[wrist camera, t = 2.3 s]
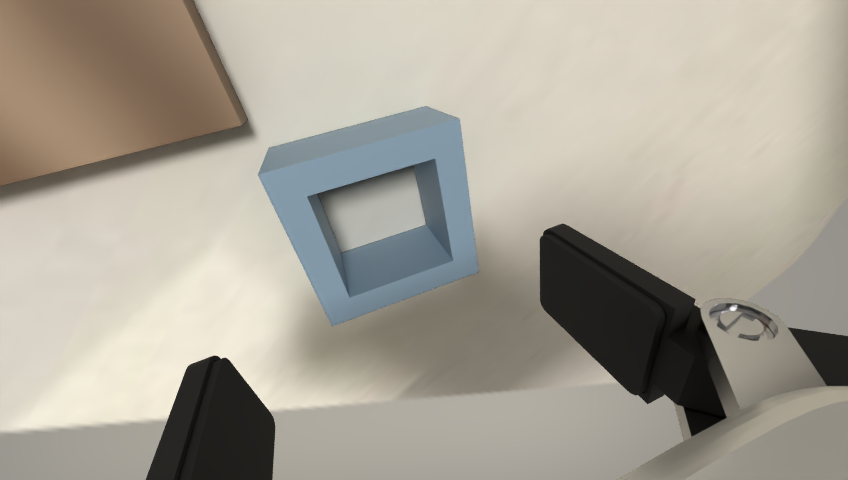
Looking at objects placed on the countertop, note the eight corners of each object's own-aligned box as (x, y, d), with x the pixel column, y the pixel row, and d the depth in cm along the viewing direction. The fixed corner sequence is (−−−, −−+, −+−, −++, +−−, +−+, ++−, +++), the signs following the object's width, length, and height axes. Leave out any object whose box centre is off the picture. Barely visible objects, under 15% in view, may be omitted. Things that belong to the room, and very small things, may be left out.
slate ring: (426, 106, 15) (459, 118, 12) (448, 235, 19) (478, 272, 16) (268, 148, 14) (257, 174, 11) (327, 277, 18) (332, 326, 15)
